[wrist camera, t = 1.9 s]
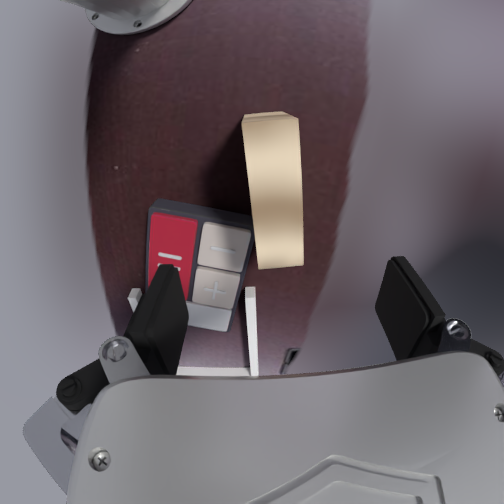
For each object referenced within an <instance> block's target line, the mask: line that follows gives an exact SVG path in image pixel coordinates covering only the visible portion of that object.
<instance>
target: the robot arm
mask: <svg viewBox="0 0 504 504" xmlns="http://www.w3.org/2000/svg"><path fill="white" fill-rule="evenodd" d="M61 1H64V2H68V3H71V4H74V5H77V6H80V7H83V8H85V12H86V15H87V18H88V19H89V21H90V22H91V24H92V25H94V26H95V27H96V28H97V29H99V30H102V31H104V32H107V33H110V34H117V35H129V34H136V33H140V32H144V31H147V30H150V29H152V28H155V27H157V26H159V25H161V24H163V23H165V22H167V21H168V20H170V19H171V18H173V17H174V16H176V15H177V14H179V13H180V12H181V11H182V10H183V9H184V8H185V7H187V6H188V4H189V3H190V2H191V1H192V0H61ZM140 24H142V25H141V26H140V27H139V25H140ZM375 310H376V313H377V315H378V317H379V320H380V322H381V324H382V326H383V329H384V331H385V333H386V336H387V338H388V340H389V342H390V345H391V347H392V350H393V352H394V354H395V357H396V360H397V361H394V362H388V363H383V364H377V365H371V366H364V367H357V368H350V369H342V370H334V371H326V372H315V373H303V374H289V375H270V376H189V375H176V374H177V369H178V364H179V360H180V355H181V351H182V346H183V342H184V338H185V333H186V329H187V325H188V321H189V312H188V308H187V304H186V300H185V296H184V292H183V288H182V284H181V279H180V275H179V271H178V268H177V267H174V265H173V264H160V265H159V266H158V269H157V271H156V273H155V275H154V277H153V279H152V281H151V283H150V286H149V288H148V290H147V292H146V294H145V293H144V294H142V296H141V298H140V300H139V302H138V304H137V306H136V309H135V311H134V313H133V315H132V318H131V320H130V322H129V324H128V327H127V329H126V331H125V334H124V336H123V337H122V336H115V337H112V338H109V339H108V340H106V341H105V342H104V343H103V344H102V345H101V347H100V349H99V353H98V354H99V359H98V360H96V361H94V362H92V363H90V364H89V365H87V366H85V367H83V368H82V369H80V370H78V371H76V372H74V373H73V374H71V375H69V376H67V377H65V378H64V379H63V380H61V382H60V383H59V384H58V387H57V391H56V395H57V396H56V397H55V398H54V399H53V398H52V397H51V398H50V399H48V401H46V402H45V404H43V405H42V406H41V407H40V408H39V409H38V410H37V411H36V412H35V413H34V414H33V415H32V416H31V417H30V418H29V419H28V420H27V422H26V423H25V424H24V427H23V435H24V437H25V440H26V441H27V443H28V444H29V446H30V447H31V449H32V450H33V452H34V453H35V455H36V456H37V458H38V459H39V460H40V462H41V463H42V465H43V466H44V467H45V468H46V470H47V471H48V473H49V474H50V475H51V477H52V478H53V479H54V480H55V482H56V483H57V484H58V485H59V487H60V488H61V489H62V490H63V491H64V492H65V493H66V495H67V501H66V504H504V359H503V357H502V356H501V355H500V354H499V353H498V352H496V351H495V350H493V349H491V348H489V347H487V346H485V345H483V344H481V343H479V342H477V341H475V340H473V339H471V331H470V328H469V327H468V325H467V324H466V323H464V322H463V321H461V320H459V319H456V318H451V319H448V320H447V321H446V320H445V318H444V317H445V313H444V312H443V310H442V309H441V307H440V305H439V304H438V302H437V301H436V299H435V298H434V297H433V295H432V294H431V292H430V291H429V289H428V288H427V287H426V285H425V284H424V282H423V281H422V279H421V278H420V277H419V275H418V274H417V273H416V271H415V270H414V269H413V268H412V266H411V265H410V263H409V262H408V261H407V259H406V258H405V257H404V256H397V257H392V258H391V260H389V261H388V263H387V266H386V270H385V274H384V277H383V281H382V284H381V288H380V291H379V295H378V298H377V301H376V305H375Z"/></svg>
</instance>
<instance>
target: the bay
mask: <svg viewBox="0 0 504 504" xmlns="http://www.w3.org/2000/svg"><path fill="white" fill-rule="evenodd" d="M141 296H142V292H141V289H140V288H132V290H131V292H130V294H129V296H128V300H129V303H130V305H131V307H132V310H133V312H134V311H135V309H136V306H137V304H138V302H139V300H140V298H141ZM245 303H246V317H247V330H248V343H249V356H250V368H210V367H183V366H178V369H177V374H176V375H189V376H258V349H257V323H256V298H255V287H245Z"/></svg>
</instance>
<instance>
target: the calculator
mask: <svg viewBox="0 0 504 504" xmlns="http://www.w3.org/2000/svg"><path fill="white" fill-rule="evenodd" d="M254 239H255V233H254V224H253V216H250V215H245V214H240V213H235V212H230V211H225V210H220V209H215V208H210V207H204V206H199V205H194V204H188V203H183V202H177V201H172V200H166V199H157V200H156V201H155V202H154V203H153V204H152V205H151V207H150V208H149V211H148V225H147V243H146V292H147V290H148V288H149V286H150V283H151V281H152V279H153V277H154V275H155V273H156V271H157V269H158V266H159V265H160V264H173V265H174V267H177V268H178V271H179V275H180V279H181V284H182V288H183V292H184V296H185V300H186V304H187V308H188V312H189V321H188V325H189V326H194V327H199V328H205V329H210V330H216V331H222V332H229V331H230V330H231V326H232V322H233V318H234V315H235V311H236V307H237V303H238V299H239V296H240V292H241V288H242V284H243V281H244V277H245V273H246V269H247V265H248V262H249V258H250V254H251V250H252V247H253V243H254Z"/></svg>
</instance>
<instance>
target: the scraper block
mask: <svg viewBox="0 0 504 504" xmlns="http://www.w3.org/2000/svg"><path fill="white" fill-rule="evenodd" d="M242 131H243V139H244V148H245V156H246V165H247V173H248V182H249V190H250V199H251V207H252V216H253V224H254V233H255V242H256V250H257V259H258V268H259V269H267V268H278V267H289V266H299V265H303V203H302V176H301V156H300V139H299V125H298V118H296V117H293V116H291V115H289V114H287V113H284V112H268V113H257V114H247V115H244V118H243V120H242Z"/></svg>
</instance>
